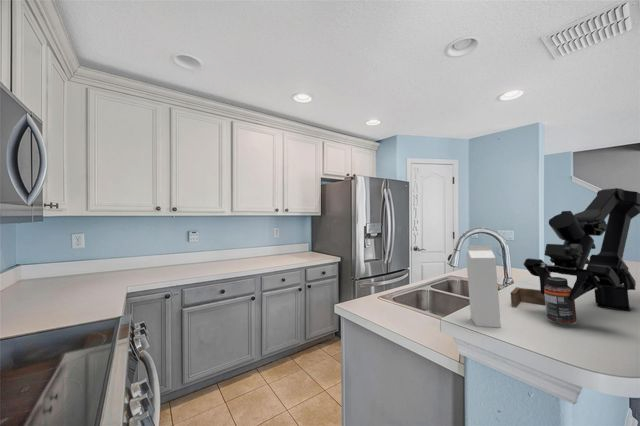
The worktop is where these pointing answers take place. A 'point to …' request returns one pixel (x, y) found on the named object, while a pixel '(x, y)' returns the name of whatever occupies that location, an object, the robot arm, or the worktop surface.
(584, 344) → the worktop surface
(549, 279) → the supplement bottle
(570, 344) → the worktop surface
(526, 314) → the worktop surface
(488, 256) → the milk
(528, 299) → the u-shaped wooden frame
